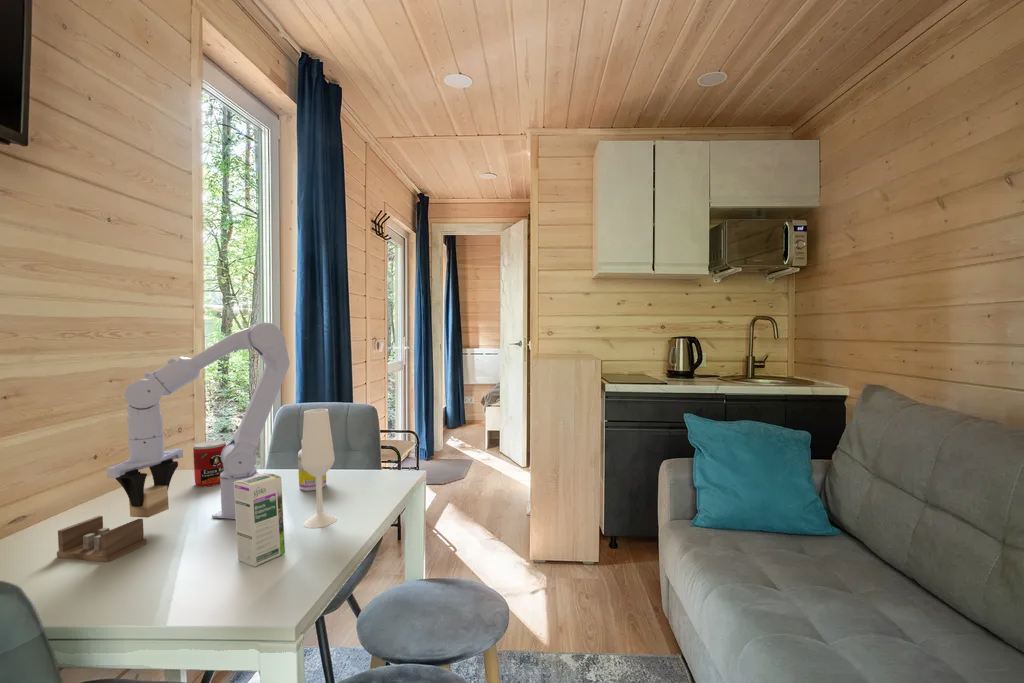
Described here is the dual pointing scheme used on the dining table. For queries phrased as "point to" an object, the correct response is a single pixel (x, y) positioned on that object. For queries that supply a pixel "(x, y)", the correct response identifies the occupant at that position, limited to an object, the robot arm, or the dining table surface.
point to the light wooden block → (151, 502)
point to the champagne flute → (317, 458)
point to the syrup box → (259, 518)
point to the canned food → (208, 462)
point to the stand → (99, 540)
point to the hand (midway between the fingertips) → (149, 501)
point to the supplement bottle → (307, 477)
